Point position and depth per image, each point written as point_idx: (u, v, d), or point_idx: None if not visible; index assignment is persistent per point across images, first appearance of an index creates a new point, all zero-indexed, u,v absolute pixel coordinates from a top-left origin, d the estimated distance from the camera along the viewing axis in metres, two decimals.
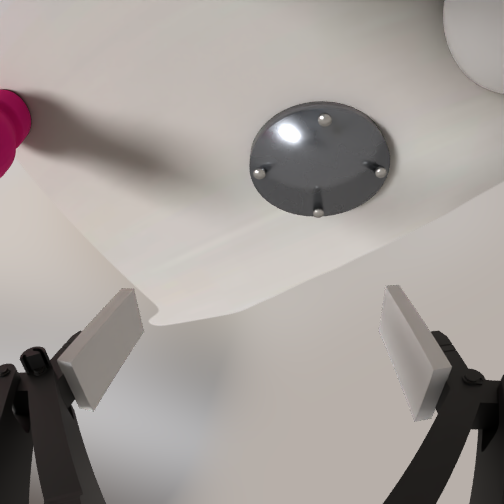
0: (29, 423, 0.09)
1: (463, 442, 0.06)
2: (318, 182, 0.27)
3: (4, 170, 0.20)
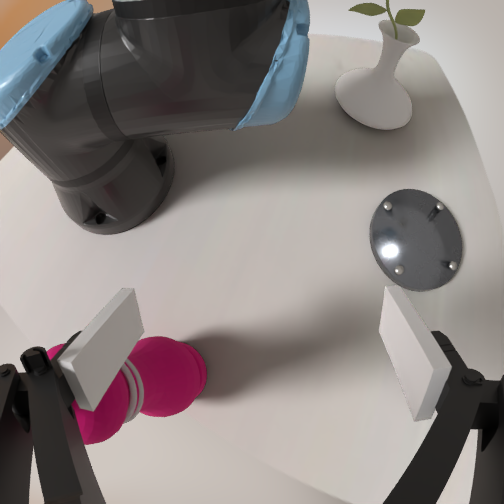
0: (29, 423, 0.09)
1: (463, 442, 0.06)
2: (429, 246, 0.32)
3: (192, 383, 0.24)
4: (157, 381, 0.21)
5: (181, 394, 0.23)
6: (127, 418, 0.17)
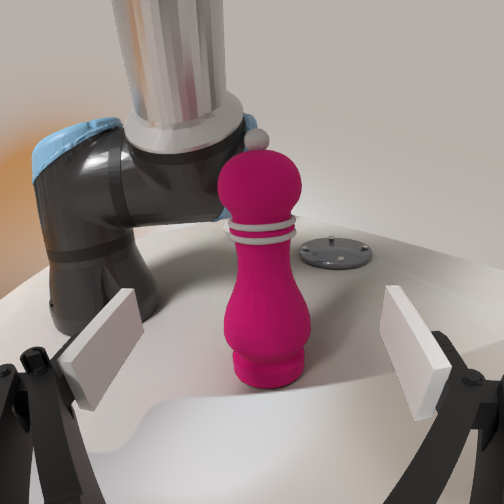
0: (29, 423, 0.09)
1: (463, 442, 0.06)
2: (344, 248, 0.52)
3: None
4: None
5: None
6: None
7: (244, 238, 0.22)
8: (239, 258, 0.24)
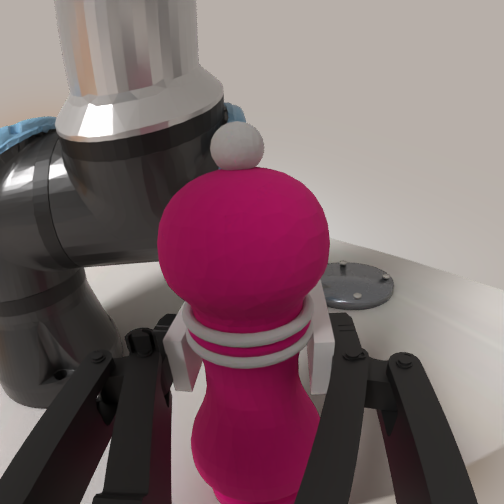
0: (113, 415, 0.10)
1: (361, 414, 0.08)
2: (360, 279, 0.41)
3: None
4: None
5: None
6: (312, 301, 0.12)
7: (210, 354, 0.11)
8: (206, 371, 0.12)
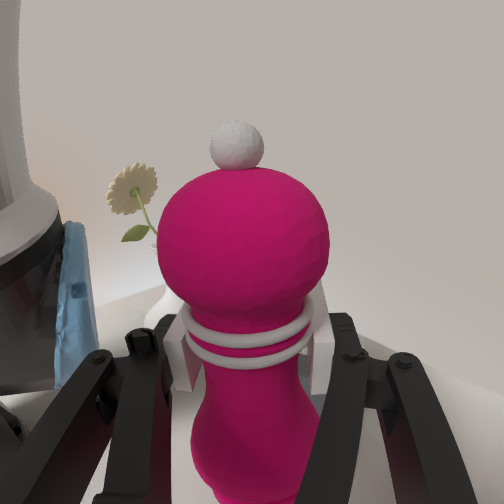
0: (113, 415, 0.10)
1: (361, 414, 0.08)
2: None
3: None
4: None
5: None
6: (312, 302, 0.12)
7: (210, 354, 0.11)
8: (206, 372, 0.12)
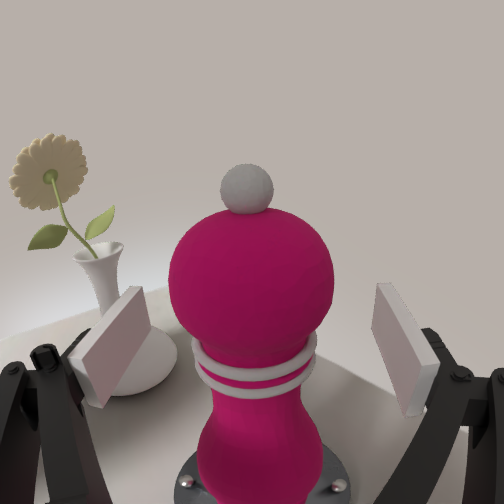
0: (37, 421, 0.09)
1: (453, 438, 0.06)
2: None
3: None
4: None
5: None
6: (315, 334, 0.12)
7: (219, 385, 0.11)
8: (214, 397, 0.13)
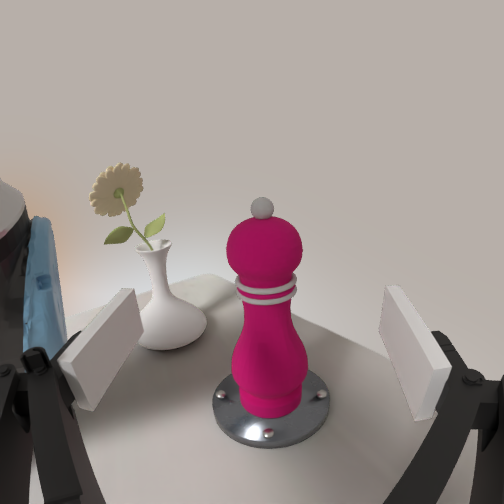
0: (29, 423, 0.09)
1: (463, 442, 0.06)
2: None
3: None
4: None
5: None
6: (295, 277, 0.26)
7: (250, 299, 0.25)
8: (245, 312, 0.26)
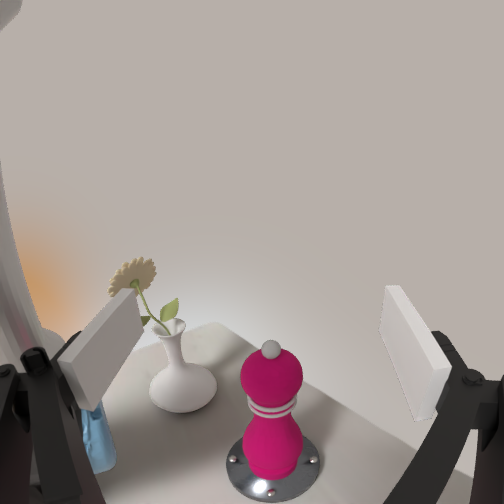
0: (29, 423, 0.09)
1: (463, 442, 0.06)
2: None
3: None
4: None
5: (297, 425, 0.33)
6: None
7: (259, 413, 0.29)
8: (255, 416, 0.30)
